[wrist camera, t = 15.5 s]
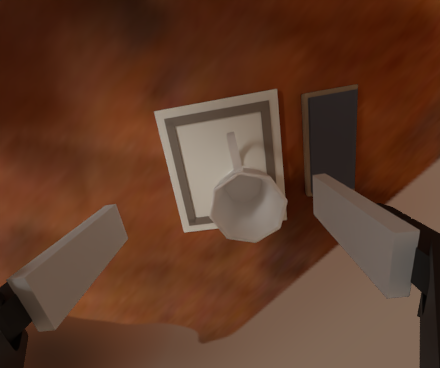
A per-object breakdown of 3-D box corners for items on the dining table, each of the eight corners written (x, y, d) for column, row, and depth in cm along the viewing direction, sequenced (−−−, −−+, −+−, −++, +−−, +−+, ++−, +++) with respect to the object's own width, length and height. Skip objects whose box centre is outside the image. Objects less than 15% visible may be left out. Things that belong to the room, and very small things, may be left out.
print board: (156, 111, 24) (153, 111, 23) (275, 89, 23) (277, 88, 22) (185, 229, 29) (183, 233, 28) (285, 217, 28) (287, 220, 27)
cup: (222, 212, 27) (219, 250, 19) (201, 137, 24) (187, 147, 16) (275, 201, 26) (294, 236, 18) (260, 122, 23) (274, 124, 16)
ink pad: (301, 94, 23) (306, 93, 21) (352, 85, 22) (361, 83, 21) (305, 193, 26) (309, 198, 25) (349, 187, 26) (357, 192, 24)
